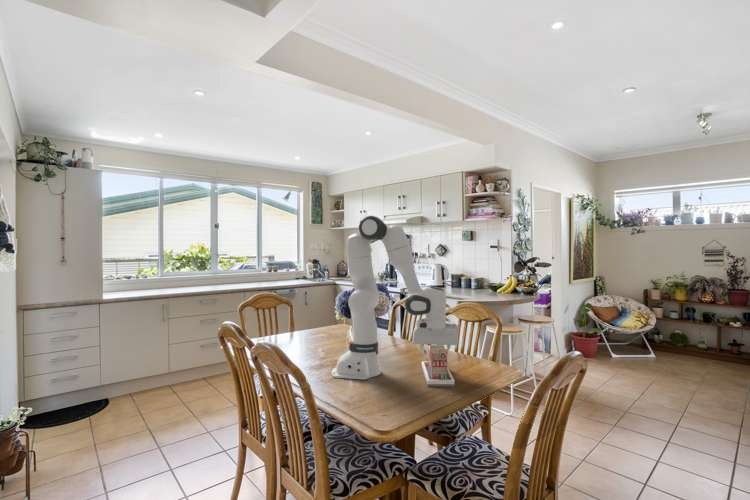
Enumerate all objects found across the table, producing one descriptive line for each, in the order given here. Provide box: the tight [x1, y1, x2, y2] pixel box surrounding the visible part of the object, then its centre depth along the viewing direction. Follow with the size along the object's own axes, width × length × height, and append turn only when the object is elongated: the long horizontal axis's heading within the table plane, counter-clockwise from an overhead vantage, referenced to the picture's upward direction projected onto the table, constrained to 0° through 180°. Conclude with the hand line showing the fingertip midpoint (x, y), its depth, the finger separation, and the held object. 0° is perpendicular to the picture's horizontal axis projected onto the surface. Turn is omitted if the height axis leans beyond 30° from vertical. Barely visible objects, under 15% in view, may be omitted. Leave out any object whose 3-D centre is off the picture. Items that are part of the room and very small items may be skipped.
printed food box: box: [427, 344, 448, 380], centre depth 164 cm, size 21×6×12 cm, turn 176°
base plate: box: [421, 360, 456, 388], centre depth 164 cm, size 11×26×2 cm, turn 178°
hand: (435, 354), depth 164 cm, fingers open, 8 cm apart
